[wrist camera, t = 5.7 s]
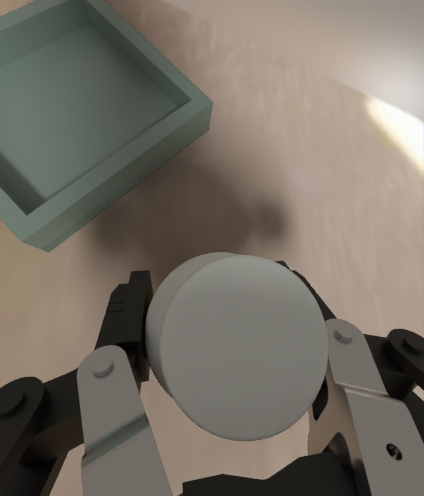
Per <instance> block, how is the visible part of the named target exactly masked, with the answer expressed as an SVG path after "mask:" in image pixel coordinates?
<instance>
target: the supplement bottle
mask: <svg viewBox="0 0 424 496" xmlns="http://www.w3.org/2000/svg"><path fill="white" fill-rule="evenodd" d="M145 347H146V353H147V357H148V361H149V364H150V366H151V369H152V371H153V373H154V375H155V377H156V379H157V380H158V382H159V383H160V385H161V386H162V387H163V389H164V390H165V391H166V392H167V393H168V394H169V395H170V396H171V397H172V398H173V399H174V400H175V402H176V403H177V405H178V406H179V407H180V408H181V410H182V411H183V412H184V413H185V415H186V416H187V417H188V418H189V419H190V420H192V421H193V422H194V423H195V424H196V425H198V426H199V427H201V428H202V429H204V430H206V431H208V432H209V433H211V434H213V435H216V436H218V437H221V438H225V439H230V440H235V441H254V440H261V439H265V438H269V437H272V436H274V435H276V434H279V433H281V432H283V431H285V430H286V429H288V428H289V427H291V426H292V425H293V424H294V423H296V422H297V421H298V420H299V419H300V418H301V417H302V416H303V415H304V414H305V412H306V411H307V410H308V409H309V408H310V406H311V405H312V404H313V402H314V401H315V399H316V397H317V394H318V392H319V390H320V388H321V386H322V383H323V380H324V377H325V373H326V369H327V362H328V335H327V330H326V325H325V321H324V318H323V315H322V312H321V310H320V308H319V305H318V303H317V301H316V299H315V298H314V296H313V295H312V293H311V292H310V290H309V289H308V288H307V286H306V285H305V284H304V283H303V282H302V281H301V280H300V278H299V277H298V276H296V275H295V274H294V273H293V272H291V271H290V270H289V269H287V268H286V267H284V266H282V265H280V264H278V263H276V262H274V261H272V260H270V259H267V258H263V257H258V256H253V255H240V254H235V253H228V252H214V253H208V254H203V255H200V256H197V257H194V258H192V259H190V260H188V261H186V262H184V263H183V264H181V265H180V266H178V267H177V268H176V269H174V270H173V271H172V272H171V273H170V274H169V275H168V276H167V277H166V278H165V279H164V281H163V282H162V283H161V284H160V286H159V287H158V289H157V291H156V292H155V294H154V296H153V298H152V301H151V303H150V306H149V309H148V312H147V316H146V323H145Z"/></svg>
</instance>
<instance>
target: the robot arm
mask: <svg viewBox="0 0 424 496" xmlns="http://www.w3.org/2000/svg"><path fill="white" fill-rule="evenodd" d="M274 262H276V263H278V264H280V265H282V266H284V267H286V268H287V269H289V267H288V266H287V265H286V263H285V262H284V261H274ZM289 270H290V269H289ZM290 271H291V270H290ZM291 272H293V273H294V274H295V275H296V276H298V277H299V278H300V280H301V281H302V282H303V283H304V284H305V285H306V286H307V288H308V289H309V290H310V292H311V293H312V295H313V296H314V298H315V299H316V301H317V303H318V305H319V308H320V310H321V312H322V315H323V318H324V321H325V325H326V330H327V335H328V362H327V369H326V373H325V377H324V380H323V383H322V386H321V388H320V390H319V392H318V394H317V397H316V399H315V401H314V402H313V404H312V405H311V406H310V408H309V409H308V414H309V434H308V456H304V457H299V458H298V459H296V460H295V461H293V462H292V463H290V464H289V465H287V466H286V467H284V468H283V469H281V470H280V471H279V472H277V473H276V474H274V475H273V476H271V477H270V478H268V479H265V480H260V479H253V478H246V477H239V476H233V475H226V474H220V475H216V476H211V477H206V478H202V479H197V480H192V481H188V482H183V493H182V494H180V495H179V496H424V401H423V400H422V399H421V398H420V397H418V396H417V395H416V394H415V393H414V392H413V391H412V390H413V389H414V388H415V387H416V386H417V385H418V386H419V387H421V388H422V389H423V390H424V338H423V337H421V336H420V335H418V334H416V333H414V332H411V331H408V330H405V329H394V330H392V331H390V333H389V334H388V336H387V337H386V338H385V337H379V336H373V335H366V334H362V332H361V331H360V330H359V329H358V328H357V327H355V326H354V325H352V324H351V323H349V322H347V321H344V320H341V319H337V318H336V317H335V316H334V314H333V313H332V312H331V310H330V309H329V308H328V307H327V305H326V304H325V303H324V302H323V300H322V299H321V298H320V297H319V295H318V294H317V293H316V291H315V290H314V289H313V288H312V286H310V284H309V283H308V281H307V280H306V279H305V277H303V276H302V275H301V274H299V273H298V272H296V271H295V270H293V271H291ZM152 298H153V291H152V284H151V277H150V272H149V270H146V271H133V272H131V275H130V279H129V284H119V285H118V286H117V287H116V289H115V290H114V291H113V292H112V293H111V296H110V300H109V303H108V304H109V305H108V306H107V310H106V314H105V316H104V320H103V323H102V326H101V330H100V333H99V336H98V340H97V343H96V346H95V349H94V351H93V352H91V353H90V354H89V355H87V356H86V357H85V358H84V360H83V361H82V362H81V364H80V366H79V367H78V368H77V369H75V370H73V371H71V372H69V373H67V374H65V375H62V376H60V377H57V378H55V379H53V380H50V381H48V382H45V383H42V382H41V380H39V379H38V378H36V377H23V378H19V379H16V380H14V381H12V382H10V383H8V384H6V385H4V386H3V387H2V388H0V496H49V495H50V492H51V490H52V488H53V486H54V483H55V481H56V479H57V477H58V474H59V472H60V470H61V468H62V465H63V463H64V461H65V459H66V456H67V454H68V452H69V451H70V450H72V449H73V448H75V447H77V446H79V445H81V444H83V443H84V444H85V454H84V456H83V457H82V462H81V474H82V485H83V496H173V494H172V491H171V488H170V485H169V482H168V479H167V476H166V473H165V470H164V467H163V464H162V461H161V457H160V454H159V451H158V448H157V445H156V442H155V439H154V436H153V433H152V430H151V427H150V424H149V421H148V418H147V416H146V413H145V410H144V407H143V404H142V401H141V398H140V389H141V382H145V381H149V371H150V364H149V361H148V357H147V353H146V347H145V323H146V316H147V312H148V309H149V306H150V303H151V301H152Z"/></svg>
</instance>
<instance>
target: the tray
mask: <svg viewBox="0 0 424 496" xmlns="http://www.w3.org/2000/svg"><path fill="white" fill-rule="evenodd" d="M212 106H213V101H211V100H210V99H209V98H208V97H207V96H206V95H205V94H204V93H203V92H202V91H201V90H200V89H199V88H198V87H197V86H195V85H194V84H193V83H192V82H191V81H190V80H189V79H188V78H187V77H186V76H185V75H184V74H183V73H182V72H180V71H179V70H178V69H177V68H176V67H175V66H174V65H173V64H172V63H171V62H170V61H169V60H168V59H167V58H166V57H164V56H163V55H162V54H161V53H160V52H159V51H158V50H157V49H156V48H155V47H154V46H153V45H152V44H151V43H150V42H148V41H147V40H146V39H145V38H144V37H143V36H142V35H141V34H140V33H139V32H138V31H137V30H136V29H135V28H133V27H132V26H131V25H130V24H129V23H128V22H127V21H126V20H125V19H124V18H123V17H122V16H121V15H120V14H119V13H117V12H116V11H115V10H114V9H113V8H112V7H111V6H110V5H109V4H108V3H107V2H106V1H105V0H36V1H34V2H32V3H29V4H27V5H25V6H23V7H20V8H18V9H16V10H14V11H11V12H9V13H7V14H5V15H2V16H0V219H1V220H2V221H3V222H4V223H5V225H6V226H7V227H8V228H9V229H10V230H11V231H12V232H13V233H14V234H15V235H16V236H17V238H18V239H19V240H20V241H21V242H23V243H26V244H28V245H31V246H34V247H36V248H39V249H42V250H44V251H47V252H50V251H51V250H53V249H54V248H55V247H57V246H58V245H59V244H60V243H62V242H63V241H64V240H66V239H67V238H68V237H70V236H71V235H72V234H73V233H75V232H76V231H77V230H79V229H80V228H81V227H83V226H84V225H85V224H86V223H88V222H89V221H90V220H92V219H93V218H94V217H96V216H97V215H98V214H99V213H101V212H102V211H103V210H105V209H106V208H107V207H109V206H110V205H111V204H112V203H114V202H115V201H116V200H118V199H119V198H120V197H122V196H123V195H124V194H125V193H127V192H128V191H129V190H131V189H132V188H133V187H135V186H136V185H137V184H138V183H140V182H141V181H142V180H144V179H145V178H146V177H148V176H149V175H150V174H151V173H153V172H154V171H155V170H157V169H158V168H159V167H160V166H162V165H163V164H164V163H166V162H167V161H168V160H170V159H171V158H172V157H173V156H175V155H176V154H177V153H179V152H180V151H181V150H183V149H184V148H185V147H186V146H188V145H189V144H190V143H192V142H193V141H194V140H196V139H197V138H198V137H199V136H201V135H202V134H203V133H205V132H206V131H207V130H209V124H210V118H211V112H212Z"/></svg>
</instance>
